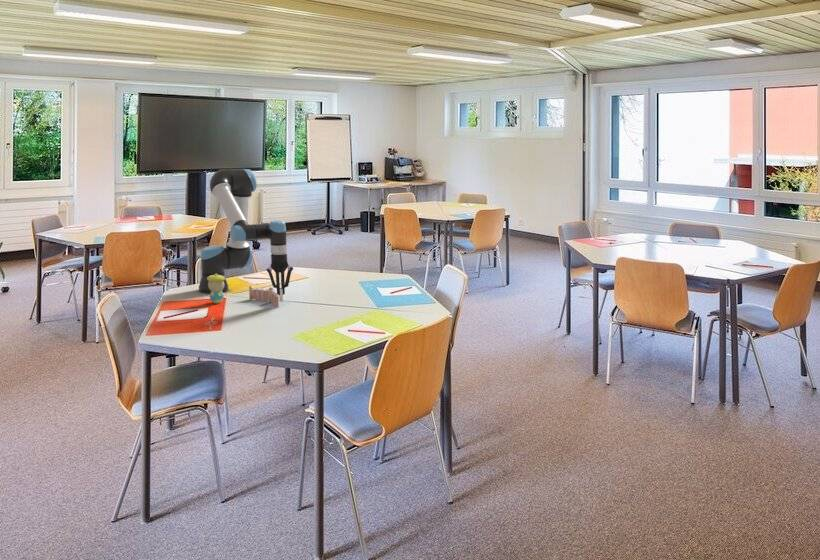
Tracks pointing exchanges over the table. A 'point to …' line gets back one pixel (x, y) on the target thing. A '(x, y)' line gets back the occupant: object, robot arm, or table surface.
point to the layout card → (266, 304)
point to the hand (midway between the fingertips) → (281, 301)
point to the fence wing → (274, 298)
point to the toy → (216, 287)
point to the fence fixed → (260, 293)
